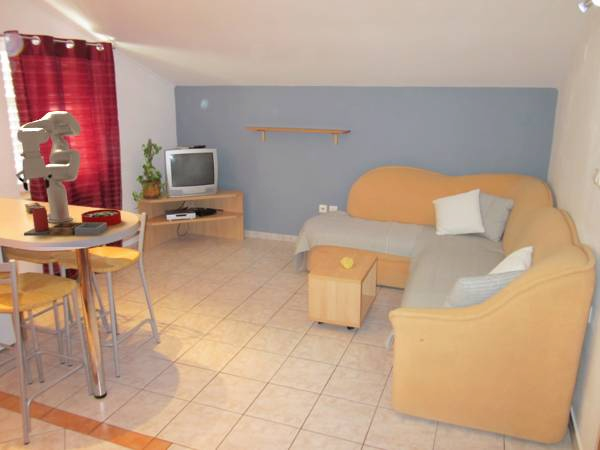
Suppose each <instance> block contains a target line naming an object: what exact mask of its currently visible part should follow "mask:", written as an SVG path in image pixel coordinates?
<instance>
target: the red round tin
mask: <svg viewBox="0 0 600 450" xmlns="http://www.w3.org/2000/svg"><path fill="white" fill-rule="evenodd" d="M81 223H82V224H83V223H107V228H108V227H112V226H117V225H119V224H121V223H122V213H121V211H120V210H119V209H113V208H112V209H111V208H106V209H105V208H104V209H94V210H88V211H85V212H82V213H81Z"/></svg>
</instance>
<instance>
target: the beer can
mask: <svg viewBox="0 0 600 450" xmlns="http://www.w3.org/2000/svg"><path fill="white" fill-rule="evenodd" d="M31 213H32V220H33V227H34V228H35V231H46V230H48V229H49V227H50V226H49V222H48V219H49V217H47V213H48V211H47V209H46V207H45V205H40V206H39V205H37V206H33V207H32V210H31ZM34 228H33V229H34Z"/></svg>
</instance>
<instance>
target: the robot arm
mask: <svg viewBox="0 0 600 450" xmlns="http://www.w3.org/2000/svg"><path fill="white" fill-rule="evenodd" d="M81 127H82V126H81V124H80V122H79V121H78V119H76V117H75V116H74V115H73V114H72V113H70V112H68V111H51V112H48V113H46V114H45V115H44V116H42V117H41V118H40V119H39V120H34V121H32V122H28V123H25V124H23V125H21V127H19V129H18V131H17V134H16V136H17V140H18V141H19V142H20V143H21V146H22V153H20V157H23V158H22V170H20V171H19V172H17V173H16V174H15V176H16V178H17V179H18V180H19V181H20V182H22V184H23V185H22V187H23V190H24V191H26V192H27V191H28V192H29V185H28V182H27V181H28V180H30V179H39V178H40V179H42V178H43V179H44V185H45V189H46V194H47V200H48V207H49V212H47V217H48V223H51V224H52V223H56V224H59V223H68V222H70V221H72V220H74V219H73V216H71V215H70V213H69V202H68V196H67V189H66V186H65V185H64V184H63V182H74V181H76V180H77V178H78V175H79V170H80V167H81V153H80V152H79V151H78V150H77V149H74V148H70V144H69V143H68V141H67V140H66V139H65V138H64V137H75V136H79V135H80V134H81V131H82V128H81ZM49 139H51V142H52V146H51V151H50V154H49V164H46V163H45V160H44V156H42V153H41V148H40V147H41V146H40V144H45V143H47V142H48V141H49ZM22 175H23V178H22V177H21V176H22Z"/></svg>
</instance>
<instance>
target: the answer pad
mask: <svg viewBox="0 0 600 450" xmlns="http://www.w3.org/2000/svg"><path fill="white" fill-rule="evenodd" d="M51 227H52V226H49V228H51ZM23 235H24V236H48V235H49V236H50V232H49V229H48V230H46V231H35V228H32V229H30V230H27V231H26V232H23Z"/></svg>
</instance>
